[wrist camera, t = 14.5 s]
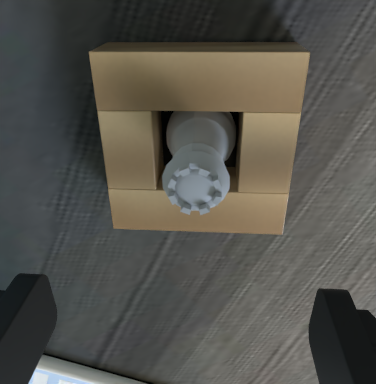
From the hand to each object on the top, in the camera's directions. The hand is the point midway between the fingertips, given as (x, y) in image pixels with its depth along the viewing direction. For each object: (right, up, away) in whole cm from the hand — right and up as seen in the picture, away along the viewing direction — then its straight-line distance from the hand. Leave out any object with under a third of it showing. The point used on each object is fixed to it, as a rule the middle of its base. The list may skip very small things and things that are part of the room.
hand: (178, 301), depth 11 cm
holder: (+1, +7, +12) cm, 15 cm away
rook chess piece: (+1, +7, +13) cm, 15 cm away
